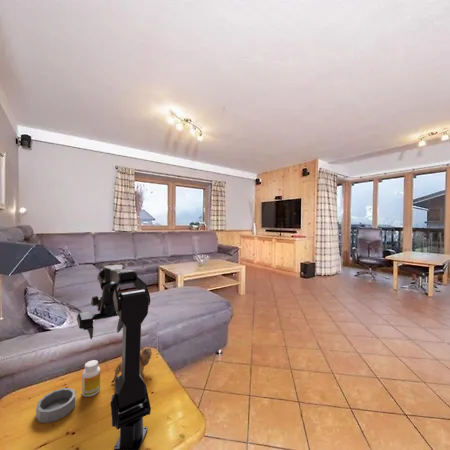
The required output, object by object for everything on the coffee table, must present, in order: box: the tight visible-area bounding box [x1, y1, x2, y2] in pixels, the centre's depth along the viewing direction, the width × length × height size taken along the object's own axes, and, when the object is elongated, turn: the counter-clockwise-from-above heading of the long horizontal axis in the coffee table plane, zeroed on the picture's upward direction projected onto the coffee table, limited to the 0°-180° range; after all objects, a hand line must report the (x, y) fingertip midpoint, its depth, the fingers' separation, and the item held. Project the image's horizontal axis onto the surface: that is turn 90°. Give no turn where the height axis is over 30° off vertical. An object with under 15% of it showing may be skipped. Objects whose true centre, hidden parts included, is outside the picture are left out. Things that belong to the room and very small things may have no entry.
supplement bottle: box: [81, 359, 101, 398], centre depth 80 cm, size 5×5×10 cm
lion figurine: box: [111, 346, 153, 384], centre depth 88 cm, size 15×5×9 cm, turn 130°
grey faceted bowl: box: [35, 387, 77, 424], centre depth 72 cm, size 10×10×3 cm
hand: (104, 335), depth 87 cm, fingers open, 9 cm apart
